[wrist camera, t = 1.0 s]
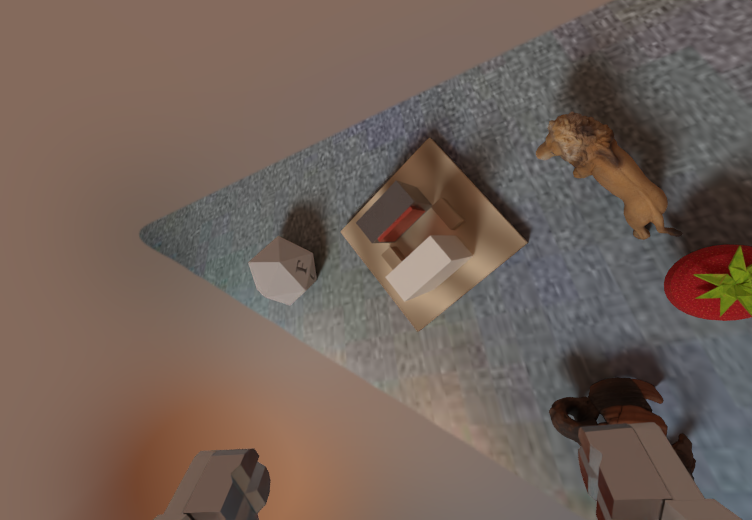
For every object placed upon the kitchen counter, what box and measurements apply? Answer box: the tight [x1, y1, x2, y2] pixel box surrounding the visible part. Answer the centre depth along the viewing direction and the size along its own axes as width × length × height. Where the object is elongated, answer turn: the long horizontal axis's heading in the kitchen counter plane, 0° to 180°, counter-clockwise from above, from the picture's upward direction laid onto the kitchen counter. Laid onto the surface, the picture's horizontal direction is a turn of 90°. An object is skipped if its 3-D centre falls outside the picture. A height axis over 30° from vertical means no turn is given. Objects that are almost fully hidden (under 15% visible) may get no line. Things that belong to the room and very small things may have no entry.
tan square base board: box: [341, 137, 528, 331], centre depth 45 cm, size 16×16×4 cm
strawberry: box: [664, 245, 752, 321], centre depth 30 cm, size 6×8×10 cm
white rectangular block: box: [385, 235, 473, 302], centre depth 40 cm, size 6×3×9 cm, turn 132°
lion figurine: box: [536, 112, 683, 240], centre depth 34 cm, size 15×5×9 cm, turn 50°
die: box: [248, 236, 317, 305], centre depth 51 cm, size 8×9×10 cm
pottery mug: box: [549, 377, 696, 481], centre depth 37 cm, size 12×10×8 cm
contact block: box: [356, 180, 432, 244], centre depth 43 cm, size 6×3×6 cm, turn 132°
